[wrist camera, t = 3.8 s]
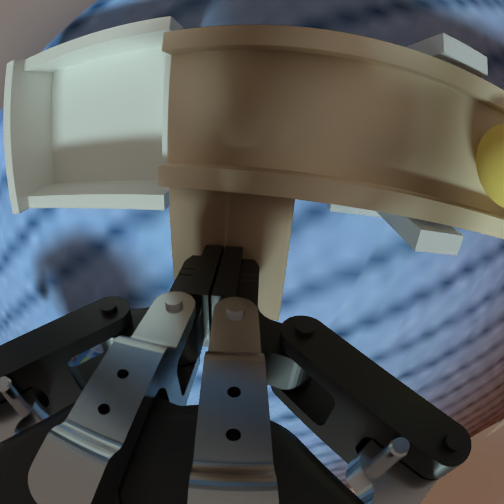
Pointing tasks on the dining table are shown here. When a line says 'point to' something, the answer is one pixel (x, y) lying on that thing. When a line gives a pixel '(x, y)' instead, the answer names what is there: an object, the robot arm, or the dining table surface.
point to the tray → (90, 121)
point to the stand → (415, 230)
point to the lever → (315, 138)
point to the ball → (492, 163)
